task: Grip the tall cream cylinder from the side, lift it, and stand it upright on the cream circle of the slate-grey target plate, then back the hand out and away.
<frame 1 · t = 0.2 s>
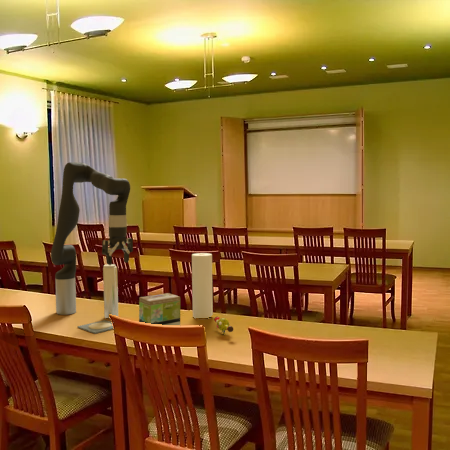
hand: (117, 263, 217), 29 cm above the table, tool pointing down, fingers open, 8 cm apart
tea box: (160, 330, 218), on the table
toy figure: (223, 334, 211), on the table
target plate: (100, 327, 223), on the table
tall cream cylinder: (111, 317, 240), on the table
cylinder container: (202, 316, 240), on the table
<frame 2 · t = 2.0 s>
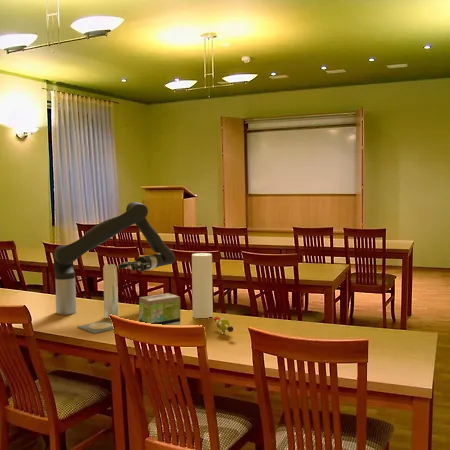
hand: (125, 267, 248), 22 cm above the table, tool horizontal, fingers open, 8 cm apart
nothing on the table moved.
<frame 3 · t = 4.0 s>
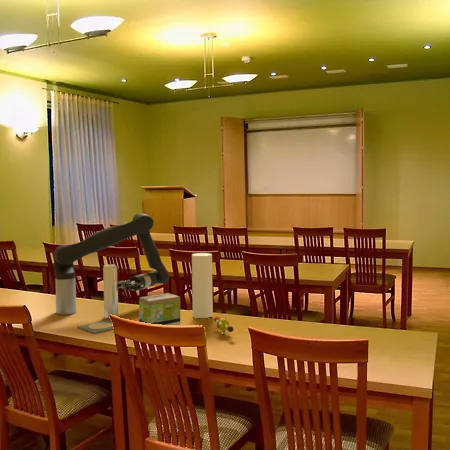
hand: (119, 287, 244), 13 cm above the table, tool horizontal, fingers open, 8 cm apart
nothing on the table moved.
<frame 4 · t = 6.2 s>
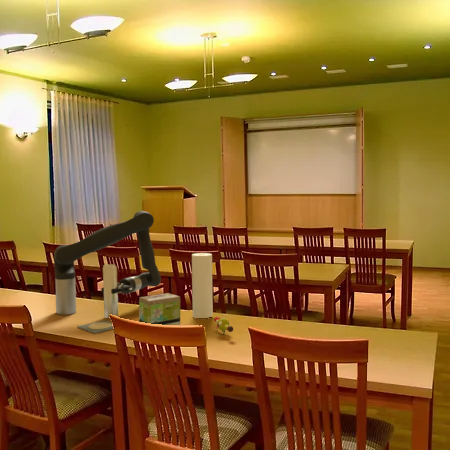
hand: (107, 291, 237), 13 cm above the table, tool horizontal, fingers closed on tall cream cylinder, 5 cm apart
tall cream cylinder: (111, 317, 240), on the table, touching gripper
everything else where it was.
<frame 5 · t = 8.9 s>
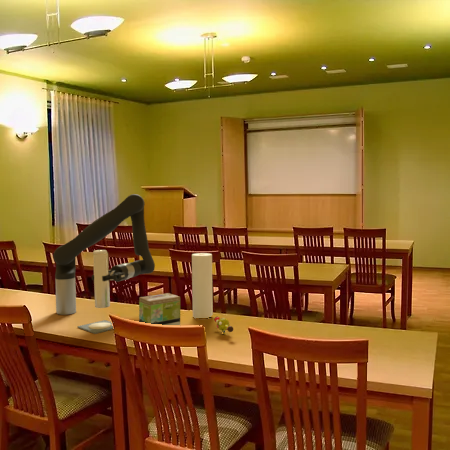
hand: (97, 278, 222), 22 cm above the table, tool horizontal, fingers closed on tall cream cylinder, 5 cm apart
tall cream cylinder: (102, 306, 225), point 8 cm above the table, touching gripper
everything else where it was.
when the fingers open (15 cm above the table, at t = 11.7 s): tall cream cylinder stays where it is, resting on target plate.
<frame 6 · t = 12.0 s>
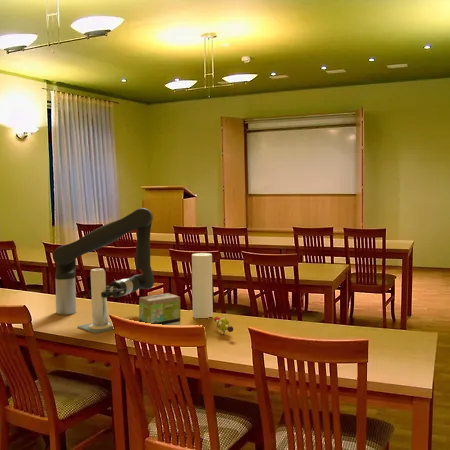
hand: (96, 294, 220), 15 cm above the table, tool horizontal, fingers open, 8 cm apart
tall cream cylinder: (100, 325, 223), point 1 cm above the table, touching target plate
everything else where it was.
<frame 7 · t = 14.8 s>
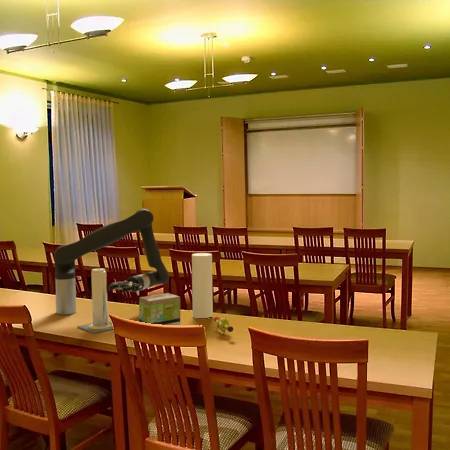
hand: (115, 289, 231), 15 cm above the table, tool horizontal, fingers open, 8 cm apart
nothing on the table moved.
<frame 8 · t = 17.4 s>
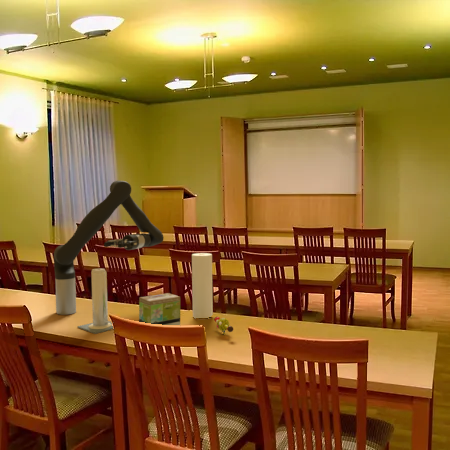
hand: (111, 245, 240), 34 cm above the table, tool horizontal, fingers open, 8 cm apart
nothing on the table moved.
at the end: tall cream cylinder 0.2 cm from the target plate (horizontally); tall cream cylinder tilted 0°; the gripper is holding nothing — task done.
